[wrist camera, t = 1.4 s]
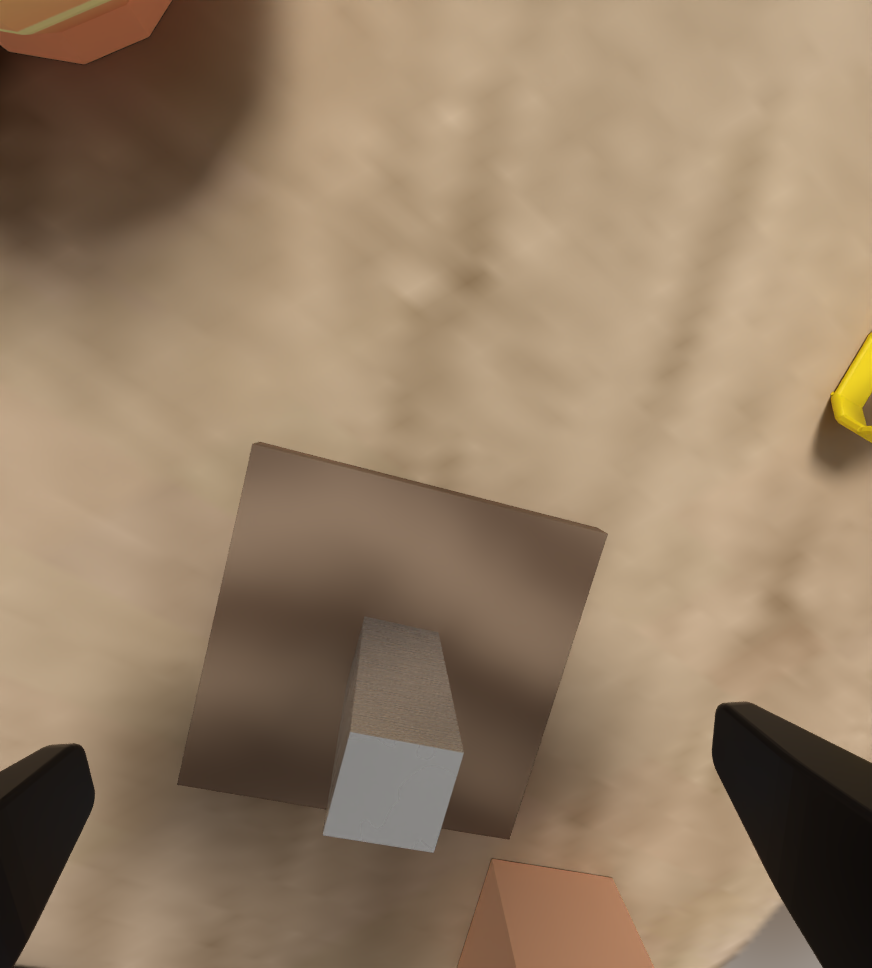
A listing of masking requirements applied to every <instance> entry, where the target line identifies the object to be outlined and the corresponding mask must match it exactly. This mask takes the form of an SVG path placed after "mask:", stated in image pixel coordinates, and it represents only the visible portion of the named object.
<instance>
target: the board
mask: <svg viewBox="0 0 872 968" xmlns="http://www.w3.org/2000/svg"><path fill="white" fill-rule="evenodd" d="M607 535H608V534H607V533H605V532H604V531H602V530H600V529H599V528H596V527H592V526H588V525H584V524H580V523H576V522H572V521H569V520H565V519H561V518H557V517H553V516H549V515H545V514H541V513H537V512H533V511H529V510H525V509H521V508H517V507H514V506H510V505H506V504H502V503H498V502H494V501H490V500H486V499H482V498H478V497H474V496H470V495H466V494H462V493H458V492H455V491H451V490H447V489H443V488H439V487H435V486H431V485H427V484H423V483H419V482H415V481H411V480H407V479H403V478H400V477H396V476H392V475H388V474H384V473H380V472H376V471H372V470H368V469H364V468H360V467H356V466H352V465H348V464H345V463H341V462H337V461H333V460H329V459H325V458H321V457H317V456H313V455H309V454H305V453H301V452H297V451H293V450H289V449H286V448H282V447H278V446H274V445H270V444H266V443H262V442H258V443H254V444H252V449H251V453H250V458H249V462H248V467H247V471H246V476H245V480H244V485H243V489H242V494H241V498H240V503H239V507H238V512H237V517H236V521H235V526H234V530H233V535H232V539H231V544H230V548H229V553H228V557H227V562H226V566H225V571H224V575H223V580H222V584H221V589H220V593H219V598H218V602H217V607H216V611H215V616H214V620H213V625H212V629H211V634H210V638H209V643H208V647H207V652H206V656H205V661H204V665H203V670H202V675H201V679H200V684H199V688H198V693H197V697H196V702H195V706H194V711H193V715H192V720H191V724H190V729H189V733H188V738H187V742H186V747H185V751H184V756H183V760H182V765H181V769H180V774H179V778H178V783H177V785H182V786H189V787H195V788H201V789H207V790H213V791H219V792H225V793H231V794H237V795H243V796H249V797H255V798H261V799H267V800H273V801H279V802H285V803H291V804H297V805H303V806H309V807H316V808H322V809H327V804H328V798H329V792H330V785H331V779H332V773H333V766H334V760H335V754H336V747H337V741H338V735H339V729H340V722H341V716H342V710H343V703H344V697H345V691H346V685H347V681H348V677H349V674H350V670H351V666H352V662H353V658H354V655H355V651H356V647H357V643H358V639H359V636H360V632H361V628H362V624H363V620H364V617H369V618H374V619H379V620H383V621H388V622H392V623H397V624H402V625H406V626H411V627H416V628H420V629H425V630H429V631H434V632H438V633H439V637H440V642H441V647H442V652H443V656H444V661H445V666H446V671H447V675H448V680H449V685H450V690H451V694H452V699H453V704H454V709H455V713H456V718H457V723H458V728H459V732H460V737H461V742H462V747H463V751H464V754H463V757H462V761H461V764H460V767H459V771H458V774H457V777H456V781H455V784H454V787H453V791H452V794H451V797H450V801H449V804H448V807H447V811H446V814H445V817H444V821H443V824H442V827H441V828H442V829H449V830H455V831H461V832H467V833H473V834H479V835H485V836H491V837H497V838H503V839H510V836H511V833H512V829H513V826H514V823H515V820H516V817H517V814H518V811H519V808H520V805H521V802H522V798H523V795H524V792H525V789H526V786H527V783H528V780H529V777H530V774H531V770H532V767H533V764H534V761H535V758H536V755H537V752H538V749H539V746H540V743H541V739H542V736H543V733H544V730H545V727H546V724H547V721H548V718H549V715H550V712H551V708H552V705H553V702H554V699H555V696H556V693H557V690H558V687H559V684H560V681H561V677H562V674H563V671H564V668H565V665H566V662H567V659H568V656H569V653H570V649H571V646H572V643H573V640H574V637H575V634H576V631H577V628H578V625H579V622H580V618H581V615H582V612H583V609H584V606H585V603H586V600H587V597H588V594H589V591H590V587H591V584H592V581H593V578H594V575H595V572H596V569H597V566H598V563H599V560H600V556H601V553H602V550H603V547H604V544H605V541H606V538H607Z"/></svg>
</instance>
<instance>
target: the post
mask: <svg viewBox="0 0 872 968" xmlns="http://www.w3.org/2000/svg"><path fill="white" fill-rule="evenodd" d="M463 754H464V751H463V747H462V742H461V737H460V732H459V728H458V723H457V718H456V713H455V709H454V704H453V699H452V694H451V690H450V685H449V680H448V675H447V671H446V666H445V661H444V656H443V652H442V647H441V642H440V637H439V633H438V632H434V631H429V630H425V629H420V628H416V627H411V626H406V625H402V624H397V623H392V622H388V621H383V620H379V619H374V618H369V617H364V620H363V624H362V628H361V632H360V636H359V639H358V643H357V647H356V651H355V655H354V658H353V662H352V666H351V670H350V674H349V677H348V681H347V685H346V691H345V697H344V703H343V710H342V716H341V722H340V729H339V735H338V741H337V747H336V754H335V760H334V766H333V773H332V779H331V785H330V792H329V798H328V804H327V811H326V817H325V823H324V830H323V835H325V836H331V837H337V838H344V839H350V840H356V841H362V842H369V843H375V844H381V845H388V846H394V847H400V848H407V849H413V850H419V851H425V852H432V853H434V850H435V847H436V844H437V840H438V837H439V834H440V830H441V827H442V824H443V821H444V817H445V814H446V811H447V807H448V804H449V801H450V797H451V794H452V791H453V787H454V784H455V781H456V777H457V774H458V771H459V767H460V764H461V761H462V757H463Z"/></svg>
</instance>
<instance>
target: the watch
mask: <svg viewBox="0 0 872 968" xmlns="http://www.w3.org/2000/svg"><path fill="white" fill-rule="evenodd" d="M871 393H872V333H870V334H869V335H868V337H867V339H866V340H865V342H864V344H863V346H862V347H861V349H860V351H859V352H858V354H857V356H856V357H855V359H854V361H853V362H852V364H851V366H850V367H849V369H848V371H847V372H846V374H845V376H844V377H843V379H842V381H841V382H840V384H839V386H838V387H837V389H836V391H835V393H834V392H832V393H831V394H830V395H831V396H832V397H831V403H832V407H833V412H834V416H835V419H836V420H837V422H838V423H840V424H841V425H843V426H845V427H846V428H848V429H849V430H851V431H853V432H854V433H856V434H858V435H859V436H861V437H862V438H864V439H866V440H867V441H869V442H871V443H872V426H867V425H866V421H865V418H864V414H863V410H862V408H863V406H864V405H865V403H866V401H867V400H868V398H869V396H870V395H871Z"/></svg>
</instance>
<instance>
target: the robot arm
mask: <svg viewBox="0 0 872 968" xmlns="http://www.w3.org/2000/svg"><path fill="white" fill-rule="evenodd" d="M712 758H713V763H714V766H715V769H716V771H717V773H718V775H719V777H720V779H721V781H722V783H723V785H724V787H725V789H726V791H727V793H728V795H729V797H730V799H731V801H732V803H733V805H734V807H735V809H736V811H737V813H738V815H739V817H740V819H741V821H742V823H743V825H744V827H745V829H746V831H747V833H748V835H749V837H750V839H751V841H752V843H753V846H754V848H755V850H756V852H757V854H758V856H759V858H760V860H761V862H762V864H763V866H764V868H765V870H766V871H767V873H768V875H769V877H770V879H771V881H772V883H773V885H774V887H775V888H776V890H777V892H778V894H779V895H780V897H781V899H782V901H783V902H784V904H785V906H786V907H787V909H788V911H789V913H790V914H791V916H792V917H793V919H794V921H795V923H796V924H797V926H798V927H799V929H800V931H801V932H802V934H803V936H804V937H805V939H806V941H807V942H808V944H809V946H810V947H811V949H812V950H813V952H814V954H815V955H816V957H817V959H818V960H819V962H820V964H821V965H822V967H823V968H872V763H871V762H869V761H867V760H865V759H863V758H861V757H859V756H857V755H855V754H853V753H851V752H849V751H847V750H845V749H843V748H841V747H839V746H837V745H835V744H833V743H831V742H829V741H827V740H825V739H823V738H821V737H819V736H817V735H815V734H813V733H811V732H809V731H807V730H805V729H803V728H801V727H799V726H797V725H795V724H793V723H791V722H789V721H787V720H785V719H783V718H781V717H779V716H777V715H775V714H773V713H771V712H769V711H767V710H765V709H763V708H761V707H759V706H757V705H755V704H752V703H750V702H730V703H722V704H720V705H719V706H718V707H717V709H716V713H715V722H714V733H713V744H712ZM94 799H95V790H94V785H93V781H92V777H91V773H90V769H89V765H88V761H87V757H86V753H85V751H84V749H83V748H82V746H81V745H79V744H75V743H73V744H57V745H49V746H46V747H44V748H41V749H40V750H38V751H36V752H34V753H33V754H31V755H29V756H27V757H25V758H24V759H22V760H20V761H18V762H17V763H15V764H13V765H11V766H9V767H8V768H6V769H4V770H2V771H1V772H0V968H13V967H14V965H15V963H16V961H17V959H18V958H19V956H20V954H21V952H22V950H23V949H24V947H25V945H26V943H27V941H28V939H29V937H30V936H31V934H32V932H33V930H34V928H35V926H36V924H37V922H38V920H39V918H40V916H41V914H42V912H43V910H44V908H45V906H46V904H47V902H48V900H49V897H50V895H51V893H52V891H53V889H54V887H55V885H56V883H57V881H58V879H59V877H60V875H61V873H62V871H63V869H64V867H65V865H66V862H67V860H68V858H69V856H70V854H71V852H72V850H73V848H74V846H75V844H76V842H77V840H78V838H79V836H80V834H81V832H82V830H83V827H84V825H85V823H86V821H87V819H88V817H89V815H90V813H91V810H92V807H93V804H94Z"/></svg>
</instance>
